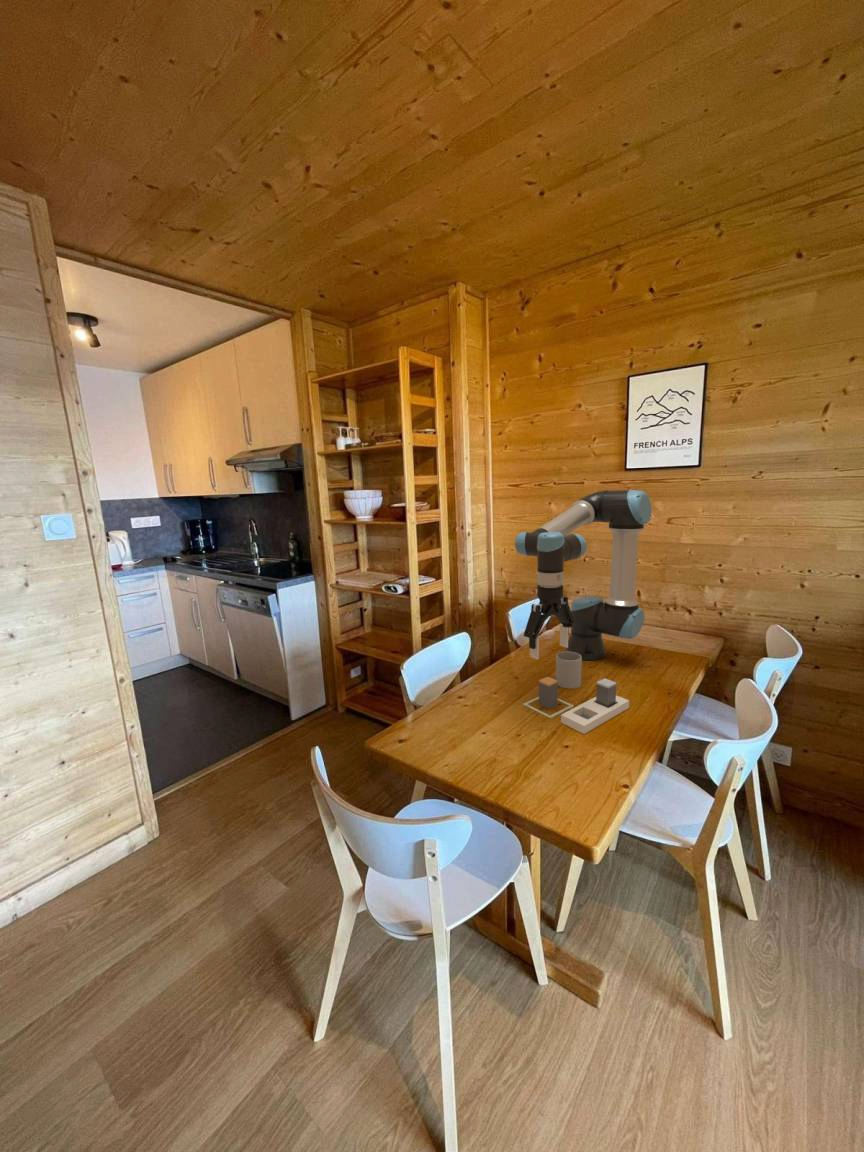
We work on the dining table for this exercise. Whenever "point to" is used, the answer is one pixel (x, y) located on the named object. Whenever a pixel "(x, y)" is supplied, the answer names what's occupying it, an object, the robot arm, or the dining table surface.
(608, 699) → the grey square peg
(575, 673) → the mug
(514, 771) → the dining table surface
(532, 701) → the tray
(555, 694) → the plug
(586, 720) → the strip
